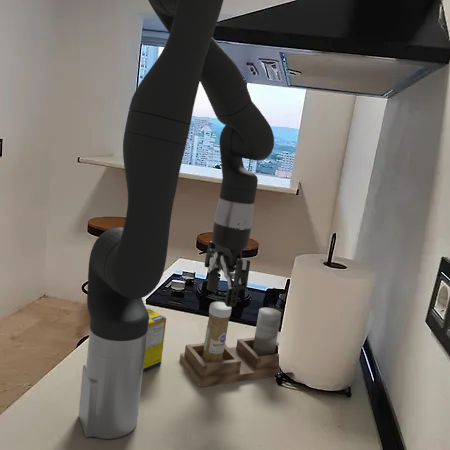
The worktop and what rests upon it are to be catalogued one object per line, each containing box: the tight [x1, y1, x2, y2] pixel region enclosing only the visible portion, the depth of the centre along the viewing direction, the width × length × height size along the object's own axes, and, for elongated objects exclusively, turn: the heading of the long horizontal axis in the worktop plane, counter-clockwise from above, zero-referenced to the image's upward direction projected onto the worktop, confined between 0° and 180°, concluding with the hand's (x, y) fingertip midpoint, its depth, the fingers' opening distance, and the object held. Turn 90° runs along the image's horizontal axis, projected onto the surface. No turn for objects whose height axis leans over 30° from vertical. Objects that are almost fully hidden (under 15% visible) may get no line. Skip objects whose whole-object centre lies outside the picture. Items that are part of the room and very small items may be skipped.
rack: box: [179, 307, 282, 388], centre depth 101 cm, size 23×11×12 cm, turn 118°
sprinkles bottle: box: [202, 301, 233, 363], centre depth 98 cm, size 5×5×13 cm
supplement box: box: [143, 307, 167, 373], centre depth 97 cm, size 6×6×11 cm
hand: (220, 297), depth 96 cm, fingers open, 8 cm apart
